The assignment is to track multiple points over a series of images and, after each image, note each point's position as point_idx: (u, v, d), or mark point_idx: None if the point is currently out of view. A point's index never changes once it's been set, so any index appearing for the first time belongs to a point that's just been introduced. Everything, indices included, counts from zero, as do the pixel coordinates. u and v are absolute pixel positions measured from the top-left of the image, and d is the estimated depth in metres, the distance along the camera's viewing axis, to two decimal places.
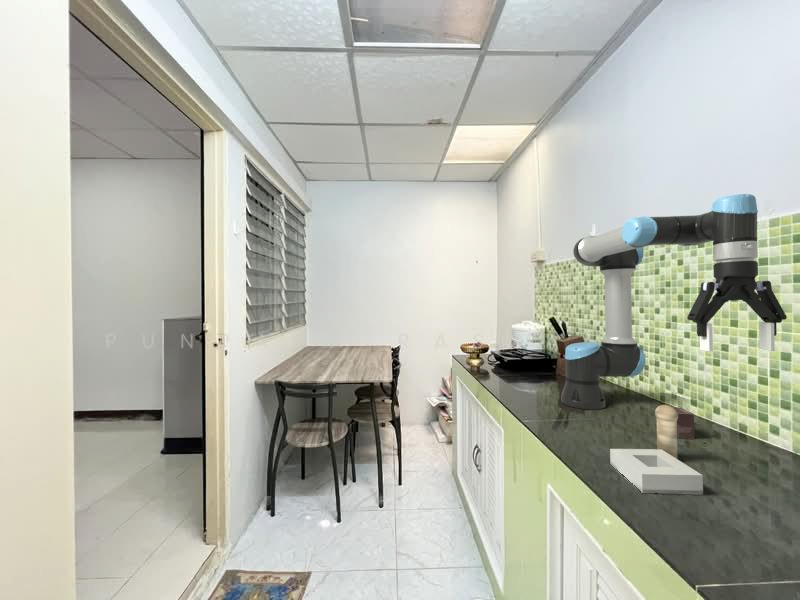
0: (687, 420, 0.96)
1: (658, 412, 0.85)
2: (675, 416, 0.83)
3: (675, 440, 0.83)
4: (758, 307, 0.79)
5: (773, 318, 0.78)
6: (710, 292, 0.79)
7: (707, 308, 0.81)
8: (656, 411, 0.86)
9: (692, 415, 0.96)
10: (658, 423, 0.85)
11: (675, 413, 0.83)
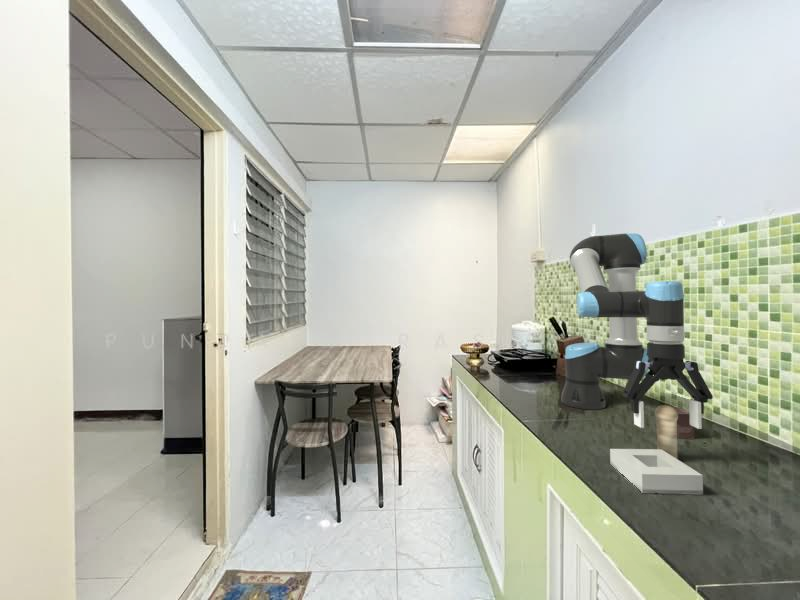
0: (687, 420, 0.96)
1: (658, 412, 0.85)
2: (675, 416, 0.83)
3: (675, 440, 0.83)
4: (686, 386, 0.84)
5: (700, 397, 0.83)
6: (642, 372, 0.84)
7: (640, 386, 0.86)
8: (656, 411, 0.86)
9: None
10: (658, 423, 0.85)
11: (675, 413, 0.83)
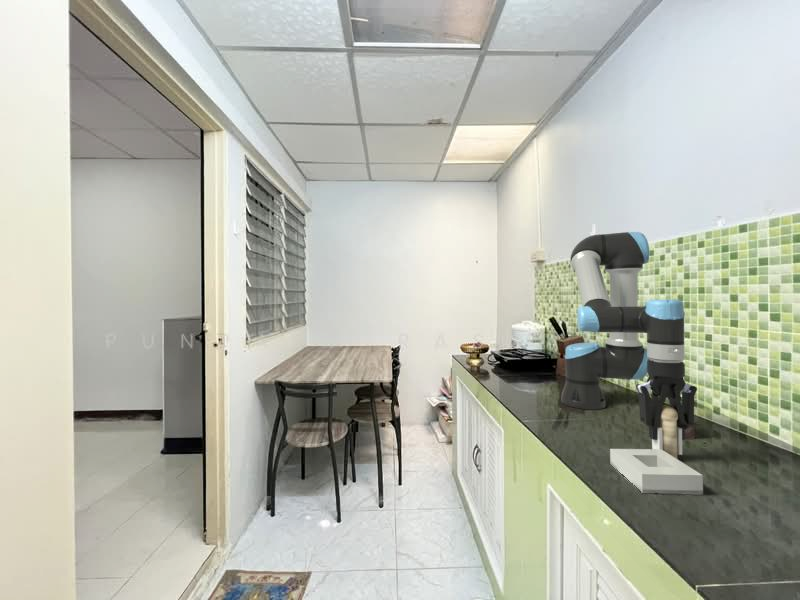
0: None
1: None
2: (675, 415, 0.83)
3: (675, 440, 0.83)
4: (675, 408, 0.84)
5: (682, 423, 0.84)
6: (647, 396, 0.84)
7: (652, 410, 0.86)
8: None
9: None
10: None
11: (675, 413, 0.83)
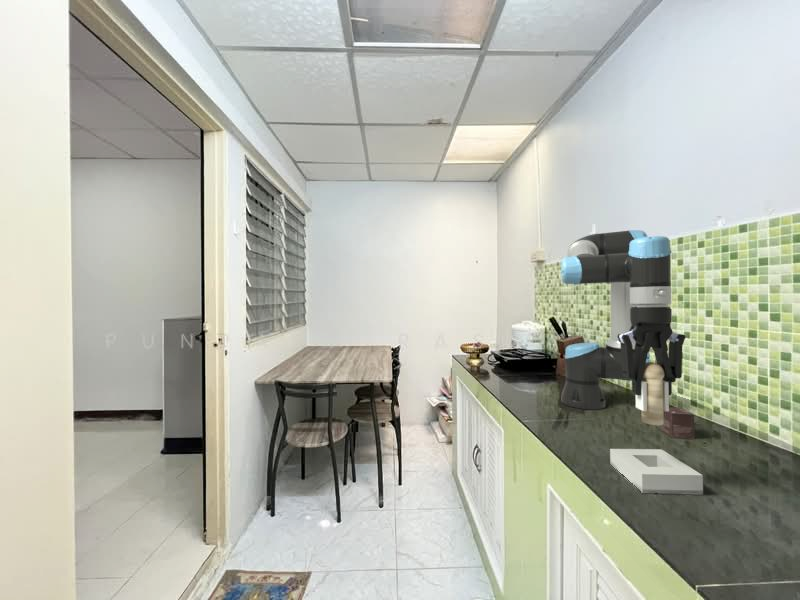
0: (687, 420, 0.96)
1: None
2: (661, 373, 0.74)
3: (661, 400, 0.74)
4: (661, 359, 0.75)
5: (669, 376, 0.74)
6: (629, 345, 0.75)
7: (635, 362, 0.76)
8: None
9: (692, 415, 0.96)
10: None
11: (661, 370, 0.74)
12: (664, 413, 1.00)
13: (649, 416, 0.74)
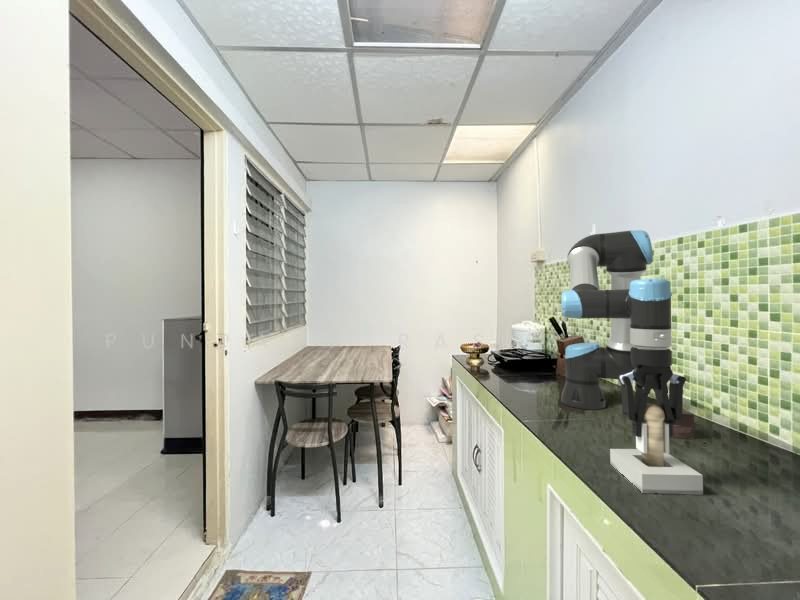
0: (687, 420, 0.96)
1: None
2: (661, 415, 0.73)
3: (661, 443, 0.74)
4: (662, 401, 0.75)
5: (669, 418, 0.74)
6: (629, 387, 0.75)
7: (635, 403, 0.76)
8: None
9: (692, 415, 0.96)
10: None
11: (661, 412, 0.74)
12: None
13: (649, 458, 0.74)
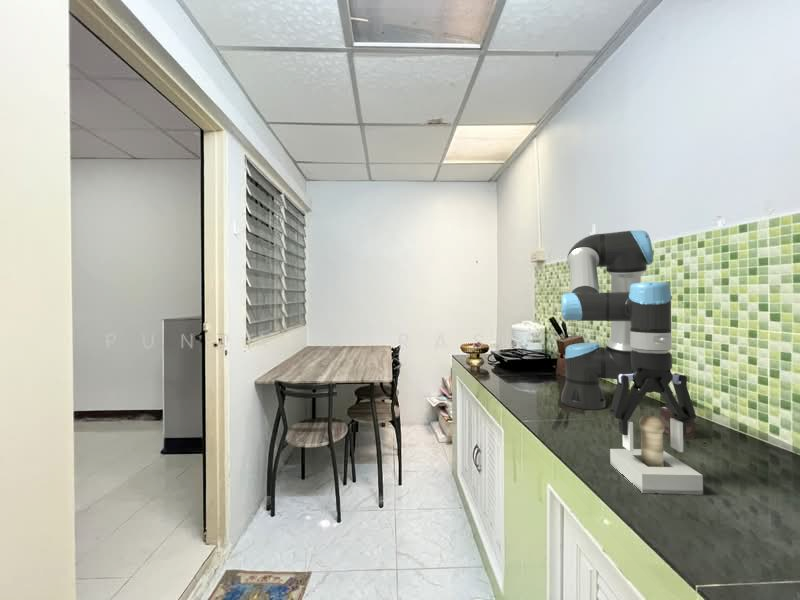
0: None
1: (642, 423, 0.76)
2: (661, 427, 0.74)
3: (661, 455, 0.74)
4: (670, 402, 0.75)
5: (682, 417, 0.74)
6: (626, 386, 0.75)
7: (627, 402, 0.76)
8: (640, 422, 0.76)
9: None
10: (642, 435, 0.76)
11: (661, 424, 0.74)
12: (664, 413, 1.00)
13: None
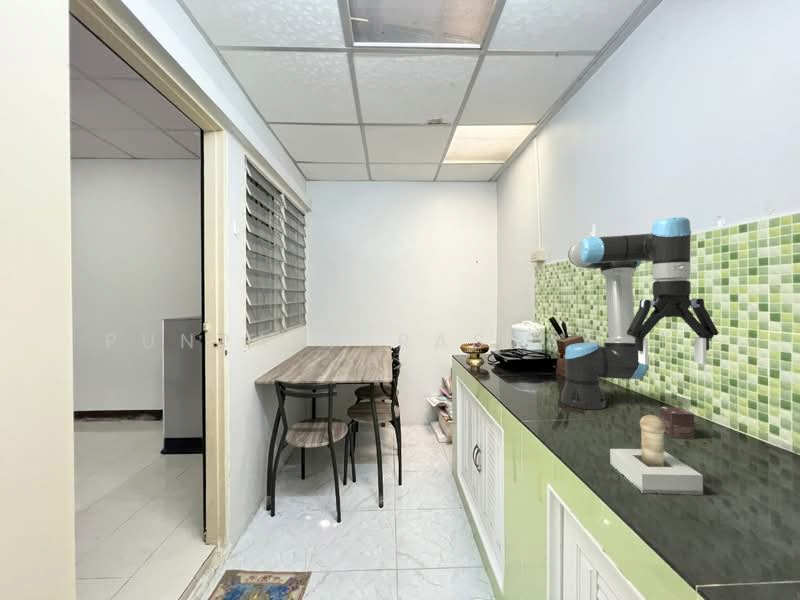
0: (687, 420, 0.96)
1: (643, 423, 0.76)
2: (662, 427, 0.73)
3: (662, 455, 0.74)
4: (692, 323, 0.84)
5: (705, 334, 0.83)
6: (647, 309, 0.85)
7: (645, 324, 0.86)
8: (641, 422, 0.76)
9: (692, 415, 0.96)
10: (643, 435, 0.76)
11: (662, 424, 0.74)
12: (664, 413, 1.00)
13: None
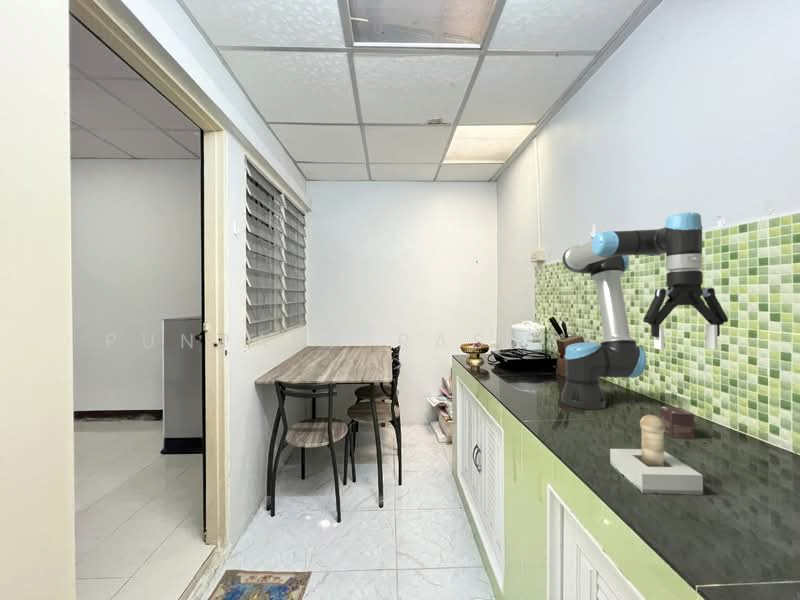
0: (687, 420, 0.96)
1: (643, 423, 0.76)
2: (662, 427, 0.73)
3: (662, 455, 0.74)
4: (704, 311, 0.90)
5: (716, 321, 0.90)
6: (662, 298, 0.91)
7: (660, 312, 0.92)
8: (641, 422, 0.76)
9: (692, 415, 0.96)
10: (643, 435, 0.76)
11: (662, 424, 0.74)
12: (664, 413, 1.00)
13: None
